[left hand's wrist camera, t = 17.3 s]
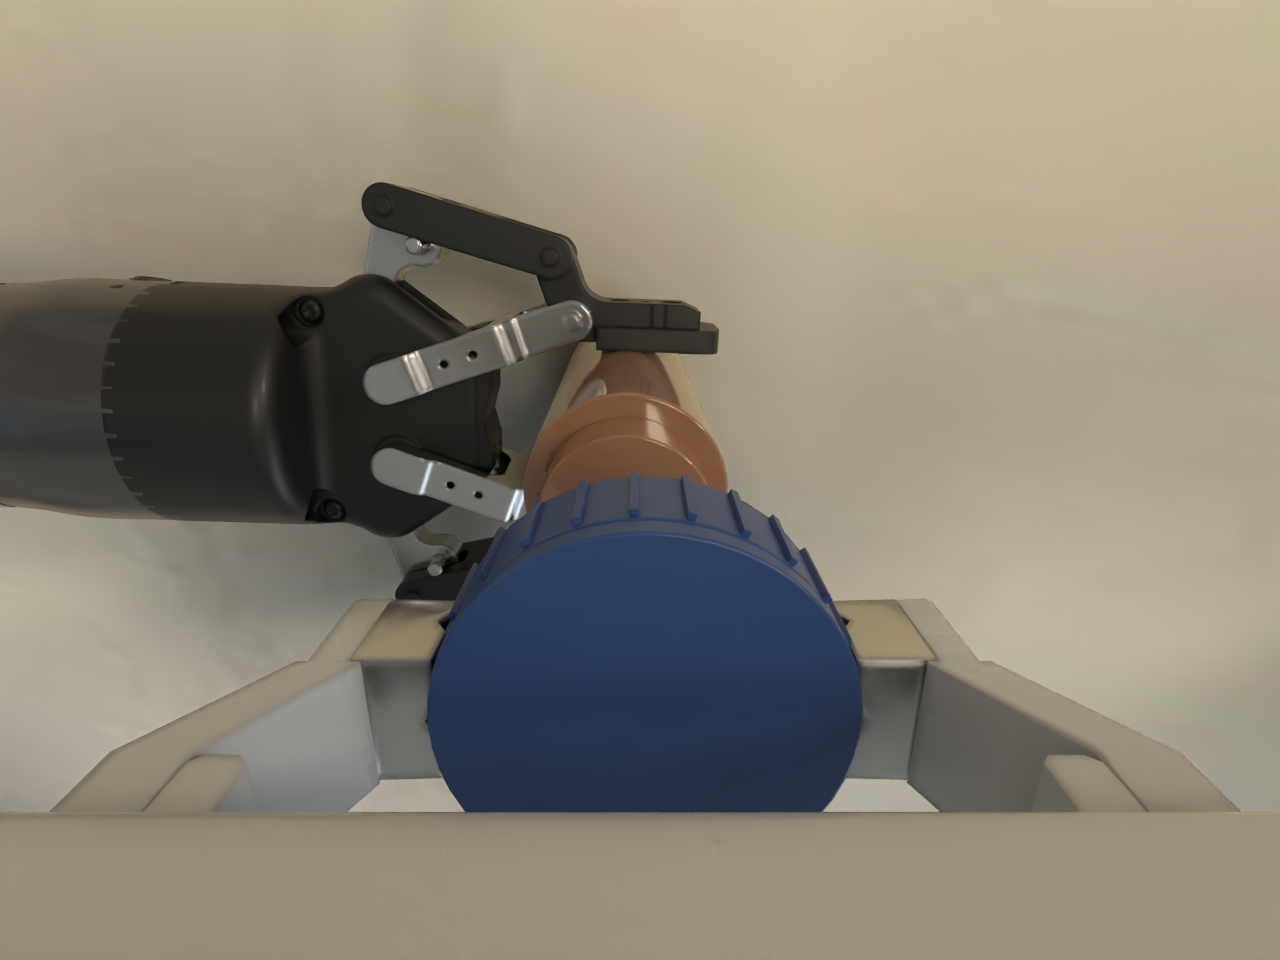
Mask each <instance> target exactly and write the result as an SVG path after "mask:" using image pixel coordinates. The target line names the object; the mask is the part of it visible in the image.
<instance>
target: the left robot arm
mask: <svg viewBox="0 0 1280 960" xmlns="http://www.w3.org/2000/svg"><path fill="white" fill-rule="evenodd" d="M454 602H455V601H449V600H393V599H363V600H357V601H355V602H354V603H353V604H352V605H351V606H350V608H349V609H348V610H347V611H346V613H345V614H344V615H343V617H342V618H341V619H340V621H339V622H338V623H337V624H336V626H335V627H334V628H333V630H332V631H331V632H330V633H329V635H328V636H327V637H326V639H325V640H324V641H323V643H322V644H321V645H320V646H319V648H318V649H317V650H316V652H315V653H314V654H313V655H312V657H311V658H310V659H309V661H296V662H294V663H292V664H290V665H288V666H286V667H284V668H282V669H280V670H278V671H276V672H274V673H272V674H270V675H268V676H265V677H263V678H261V679H259V680H257V681H255V682H253V683H251V684H249V685H247V686H245V687H243V688H241V689H239V690H237V691H235V692H233V693H230V694H228V695H226V696H224V697H222V698H220V699H218V700H216V701H214V702H212V703H210V704H208V705H206V706H204V707H202V708H200V709H198V710H195V711H193V712H191V713H189V714H187V715H185V716H183V717H181V718H179V719H177V720H175V721H173V722H171V723H169V724H167V725H165V726H163V727H160V728H158V729H156V730H154V731H152V732H150V733H148V734H146V735H144V736H142V737H140V738H138V739H136V740H134V741H132V742H130V743H128V744H125V745H123V746H121V747H119V748H117V749H115V750H113V751H111V752H110V753H109V754H108V755H107V756H106V757H105V758H103V759H102V760H101V761H100V762H99V763H98V764H97V765H96V766H95V767H94V768H93V769H92V770H91V771H90V772H89V773H88V774H87V775H86V776H85V777H84V778H83V779H82V780H81V781H80V782H79V783H78V784H77V785H76V786H75V787H74V788H73V789H72V790H71V791H70V792H69V793H68V794H67V795H66V796H65V797H64V798H63V799H62V800H61V801H60V802H59V803H58V804H57V805H56V806H55V807H54V808H53V809H52V810H51V811H50V812H0V960H1280V812H1241V811H1240V810H1239V809H1238V808H1237V807H1236V806H1235V805H1234V804H1233V803H1232V802H1231V801H1230V800H1229V799H1228V798H1227V797H1226V796H1225V795H1224V794H1223V793H1222V792H1220V791H1219V790H1218V789H1217V788H1216V787H1215V786H1214V785H1213V784H1212V783H1211V782H1210V781H1209V780H1208V779H1207V778H1206V777H1205V776H1204V775H1203V774H1202V773H1201V772H1200V771H1199V770H1198V769H1197V768H1196V767H1195V766H1194V765H1193V764H1192V763H1191V762H1190V761H1189V760H1188V759H1187V758H1186V757H1185V756H1184V755H1182V754H1181V753H1180V752H1178V751H1176V750H1174V749H1172V748H1170V747H1167V746H1165V745H1163V744H1161V743H1159V742H1157V741H1155V740H1153V739H1151V738H1149V737H1147V736H1145V735H1143V734H1141V733H1138V732H1136V731H1134V730H1132V729H1130V728H1128V727H1126V726H1124V725H1122V724H1120V723H1118V722H1116V721H1114V720H1112V719H1109V718H1107V717H1105V716H1103V715H1101V714H1099V713H1097V712H1095V711H1093V710H1091V709H1089V708H1087V707H1085V706H1083V705H1080V704H1078V703H1076V702H1074V701H1072V700H1070V699H1068V698H1066V697H1064V696H1062V695H1060V694H1058V693H1056V692H1053V691H1051V690H1049V689H1047V688H1045V687H1043V686H1041V685H1039V684H1037V683H1035V682H1033V681H1031V680H1029V679H1027V678H1024V677H1022V676H1020V675H1018V674H1016V673H1014V672H1012V671H1010V670H1008V669H1006V668H1004V667H1002V666H1000V665H998V664H995V663H993V662H991V661H979V660H978V659H977V657H976V656H975V655H974V654H973V652H972V651H971V650H970V649H969V647H968V646H967V645H966V644H965V642H964V641H963V640H962V639H961V637H960V636H959V635H958V633H957V632H956V631H955V630H954V628H953V627H952V626H951V625H950V623H949V622H948V621H947V620H946V618H945V617H944V616H943V615H942V613H941V612H940V611H939V610H938V608H937V607H936V606H935V605H934V603H933V602H932V601H930V600H927V599H905V600H854V601H833V603H834V605H835V607H836V609H837V611H838V613H839V615H840V616H841V618H842V620H843V622H844V624H845V626H846V628H847V630H848V632H849V634H850V636H851V639H852V642H853V643H852V644H850V645H849V647H850V650H851V652H852V655H853V657H854V660H855V662H856V666H857V670H858V674H859V679H860V683H861V689H862V704H863V714H862V725H861V734H860V738H859V742H858V746H857V750H856V754H855V758H854V760H853V762H852V765H851V767H850V769H849V772H848V774H847V777H846V778H861V779H898V780H908V781H907V783H908V784H909V785H911V786H912V787H913V788H914V789H915V790H916V791H917V792H918V793H920V794H921V795H922V796H923V797H924V798H925V799H926V800H928V801H929V802H930V803H931V804H932V805H933V806H934V807H936V808H937V809H938V810H939V811H940V812H348V811H349V810H350V809H351V808H352V807H353V806H354V805H356V804H357V803H358V802H359V801H360V800H361V799H362V798H363V797H365V796H366V795H367V794H368V793H369V792H370V791H371V790H372V789H374V788H375V787H376V786H377V785H378V784H379V783H380V782H379V780H389V779H424V778H443V776H442V774H441V772H440V770H439V767H438V764H437V761H436V758H435V756H434V753H433V750H432V746H431V740H430V735H429V729H428V722H427V698H428V691H429V684H430V677H431V674H432V671H433V667H434V664H435V661H436V658H437V657H436V655H437V653H438V651H439V649H440V647H441V645H442V643H443V641H444V638H445V630H446V627H447V625H448V623H449V621H450V618H448V614H449V612H450V610H451V608H452V606H453V604H454Z"/></svg>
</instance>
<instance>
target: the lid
mask: <svg viewBox="0 0 1280 960" xmlns="http://www.w3.org/2000/svg"><path fill="white" fill-rule="evenodd" d="M448 618H450V621H449V623H448V625H447V627H446V630H445V638H444V641H443V643H442V645H441V647H440V649H439V651H438V653H437V655H436V657H437V658H436V661H435V664H434V667H433V671H432V674H431V677H430V684H429V691H428V698H427V722H428V729H429V735H430V740H431V746H432V750H433V753H434V756H435V758H436V761H437V764H438V767H439V770H440V772H441V774H442V776H443V778H444V780H445V782H446V784H447V786H448V787H449V789H450V791H451V792H452V794H453V795H454V797H455V798H456V800H457V801H458V802H459V804H460V805H461V807H462V808H463V809H464V810H465V812H823V811H824V810H825V808H826V807H827V806H828V805H829V804H830V802H831V801H832V800H833V799H834V797H835V795H836V794H837V792H838V790H839V789H840V787H841V785H842V784H843V782H844V780H845V779H846V777H847V774H848V772H849V769H850V767H851V765H852V762H853V760H854V758H855V754H856V750H857V746H858V742H859V738H860V734H861V725H862V714H863V704H862V689H861V683H860V679H859V674H858V670H857V666H856V662H855V660H854V657H853V655H852V652H851V650H850V647H849V645H850V644H852V643H853V642H852V639H851V636H850V634H849V632H848V630H847V628H846V626H845V624H844V622H843V620H842V618H841V616H840V615H839V613H838V611H837V609H836V607H835V605H834V603H833V601H832V598H831V596H830V594H829V592H828V590H827V588H826V586H825V584H824V582H823V580H822V578H821V576H820V574H819V572H818V570H817V569H816V567H815V565H814V563H813V561H812V559H811V557H810V555H809V553H808V551H807V550H806V549H805V548H803V549H802V550H799V549H798V548H797V547H796V545H795V544H794V543H793V542H792V541H791V539H790V538H789V537H788V536H787V535H786V533H785V532H784V530H783V528H782V526H781V524H780V522H779V520H778V518H777V517H775V516H774V515H772V516H771V517H770V518H768V517H767V516H765V515H764V514H762V513H761V512H759V511H758V510H756V509H755V508H754V507H752V506H751V505H749V504H748V503H746V502H744V501H742V500H740V497H739V494H738V492H736V491H734V490H732V489H731V490H730V492H729V493H726V492H723V491H720V490H717V489H714V488H712V487H709V486H706V485H703V484H699V483H695V482H691V480H690V476H687V475H682V476H681V479H676V478H665V477H653V476H642V477H639V475H638V471H635V472H630V477H622V478H615V479H609V480H603V481H597V482H594V483H590V484H589V483H588V480H587V479H585V480H582V481H579V485H578V487H577V488H573V489H571V490H569V491H566V492H564V493H562V494H559V495H557V496H555V497H552V498H550V499H549V500H547V501H545V502H544V503H543V501H542V500H541V499H540V498H539V499H538V500H536V501H534V503H533V506H532V508H531V510H530V511H529V512H527V513H526V514H525V515H524V516H522V517H521V518H520V519H519V520H517V521H516V522H515V523H514V524H512V525H511V526H510V527H509V528H508V529H507V530H505V529H504V528H503V527H501V528H500V529H499V530H498V531H497V533H496V535H495V537H494V539H493V541H492V544H491V546H490V548H489V550H488V552H487V554H486V556H485V557H484V558H483V560H482V561H481V563H480V565H478V564H476V563H473V565H472V567H471V569H470V571H469V573H468V575H467V577H466V579H465V581H464V583H463V585H462V587H461V590H460V592H459V594H458V596H457V598H456V600H455V602H454V604H453V606H452V608H451V610H450V612H449V614H448Z"/></svg>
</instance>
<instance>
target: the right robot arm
mask: <svg viewBox="0 0 1280 960" xmlns="http://www.w3.org/2000/svg"><path fill="white" fill-rule="evenodd" d="M362 209H363V212H364V214H365V216H366V218H367V219H368V220H369V222H370V223H372V226H371V233H370V239H369V245H368V252H367V258H366V264H365V271H364V274H362V275H358V276H355V277H353V278H351V279H349V280H347V281H346V282H344V283H342V284H340V285H338V286H335V287H301V286H276V285H251V284H227V283H203V282H177V281H175V282H173V281H171V280H167V279H162V278H156V277H144V276H137V277H134V278H129V279H97V278H78V279H65V280H55V281H47V282H37V283H10V284H6V283H0V507H21V508H34V509H42V510H49V511H54V512H60V513H66V514H72V515H79V516H86V517H97V518H119V519H155V520H182V521H221V522H252V523H283V524H321V523H334V522H344V523H349V524H353V525H356V526H359V527H361V528H364V529H366V530H368V531H370V532H371V533H373V534H375V535H378V536H381V537H387V538H389V541H390V544H391V546H392V549H393V552H394V555H395V557H396V560H397V563H398V566H399V568H400V571H401V574H402V577H403V580H402V582H401V584H400V585H399V587H398V588H397V590H396V593H395V598H396V600H449V601H455V600H456V598H457V596H458V594H459V592H460V590H461V587H462V585H463V583H464V581H465V579H466V577H467V575H468V573H469V571H470V569H471V567H472V565H473V563H476V564H478V565H480V563H481V561H482V560H483V558H484V557H485V556H486V554H487V552H488V550H489V548H490V546H491V544H492V541H493V539H494V537H492V538H487V539H482V540H477V541H472V542H467V543H461V541H460V540H459V539H458V538H457V537H456V536H455V535H450V534H436V533H432V532H430V531H429V530H427V529H426V528H425V527H424V526H423V524H425V523H426V522H428V521H429V520H431V519H432V518H434V517H435V516H437V515H438V514H440V513H442V512H443V511H445V510H446V509H448V508H449V507H451V506H452V505H455V506H458V507H461V508H463V509H466V510H469V511H472V512H475V513H478V514H480V515H483V516H486V517H489V518H492V519H495V520H498V521H502V522H510V521H517V520H519V519H520V518H521V517H522V516H524V515H525V514H526V508H525V504H524V495H523V483H524V474H525V469H526V464H527V461H528V459H529V456H528V455H525V454H523V453H520V452H518V451H515V450H512V449H509V448H507V447H504V446H502V428H501V425H500V422H499V418H498V415H497V412H496V408H495V403H496V399H497V395H498V391H499V387H500V368H503V367H506V366H509V365H512V364H514V363H517V362H519V361H521V360H523V359H525V358H528V357H530V356H533V355H537V354H540V353H543V352H546V351H549V350H552V349H555V348H559V347H562V346H565V345H568V344H571V343H574V342H596V350H598V351H634V352H653V353H680V354H716V353H717V349H718V336H719V329H718V328H717V327H716V326H715V325H714V324H710V323H702V322H700V315H701V312H700V311H699V310H698V309H697V308H696V307H694V306H692V305H689V304H687V303H685V302H683V301H677V300H649V299H626V298H606V297H601V296H599V295H597V294H595V293H594V292H593V291H591V290H590V288H589V287H588V286H587V284H586V282H585V279H584V276H583V274H582V271H581V268H580V265H579V262H578V259H577V249H576V246H575V244H574V243H573V241H572V240H571V239H570V238H568V237H567V236H564V235H561V234H558V233H555V232H552V231H549V230H545V229H542V228H539V227H536V226H532V225H529V224H526V223H523V222H520V221H516V220H513V219H510V218H507V217H503V216H500V215H497V214H494V213H491V212H487V211H484V210H481V209H478V208H474V207H471V206H468V205H465V204H462V203H458V202H455V201H452V200H449V199H445V198H442V197H439V196H436V195H433V194H429V193H426V192H423V191H420V190H416V189H413V188H409V187H404V186H399V185H394V184H388V183H382V182H379V183H375V184H372V185H370V186H369V187H368V188H367V189H366V190H365V192H364V194H363V197H362ZM449 249H451V250H454V251H458V252H461V253H464V254H468V255H471V256H474V257H477V258H481V259H484V260H487V261H491V262H494V263H497V264H501V265H504V266H507V267H511V268H514V269H517V270H520V271H524V272H527V273H530V274H534V275H536V276H537V279H538V281H539V284H540V287H541V290H542V293H543V295H544V298H545V301H546V303H543V304H540V305H537V306H534V307H530V308H527V309H524V310H520V311H516V312H512V313H509V314H506V315H503V316H500V317H497V318H494V319H491V320H488V321H485V322H481V323H478V324H475V325H472V326H469V327H466V326H465V325H464V324H462V323H461V322H460V321H458V320H457V319H456V318H454V317H453V316H452V315H450V314H449V313H448V312H446V311H445V310H444V309H442V308H441V307H440V306H438V305H437V304H436V303H434V302H433V301H432V300H430V299H429V298H428V297H426V296H425V295H424V294H422V293H421V292H419V291H418V290H417V289H415V288H414V287H413V286H411V285H410V284H409V283H407V282H406V281H405V280H404V277H405V274H406V272H407V271H408V270H409V269H410V268H411V267H413V266H430V265H435V264H438V263H440V262H442V261H443V260H444V259H445V257H446V256H447V253H448V250H449ZM496 462H497V463H498V464H496ZM478 491H479V492H478ZM480 492H481V493H480Z"/></svg>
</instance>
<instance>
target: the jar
mask: <svg viewBox="0 0 1280 960" xmlns="http://www.w3.org/2000/svg"><path fill="white" fill-rule="evenodd" d="M635 471H638V475H639V477H642V476H653V477H665V478H676V479H681V476H682V475H687V476H690V480H691V482H695V483H699V484H703V485H706V486H709V487H712V488H714V489H717V490H720V491H723V492H726V493H728V481H727V473H726V469H725V465H724V461H723V458H722V456H721V453H720V451H719V448H718V446H717V444H716V441H715V439H714V436H713V434H712V432H711V429H710V427H709V424H708V422H707V420H706V417H705V415H704V413H703V410H702V408H701V405H700V403H699V401H698V398H697V396H696V394H695V391H694V389H693V386H692V384H691V382H690V379H689V377H688V374H687V372H686V370H685V367H684V365H683V363H682V360H681V358H680V355H679V353H653V352H634V351H598V350H596V342H580V343H579V344H578V346H577V347H576V349H575V351H574V353H573V355H572V357H571V360H570V362H569V364H568V367H567V369H566V371H565V374H564V376H563V378H562V381H561V383H560V385H559V388H558V390H557V392H556V395H555V397H554V399H553V402H552V404H551V406H550V409H549V411H548V413H547V416H546V418H545V420H544V423H543V425H542V427H541V430H540V432H539V434H538V437H537V439H536V441H535V444H534V446H533V448H532V451H531V453H530V456H529V459H528V461H527V464H526V469H525V474H524V483H523V495H524V504H525V508H526V513H527V512H529V511H530V510H531V508H532V506H533V503H534V501H536V500H538V499H539V498H540V499H541V500H542V501H543V503H544V502H545V501H547V500H549V499H550V498H552V497H555V496H557V495H559V494H562V493H564V492H566V491H569V490H571V489H573V488H577V487H578V485H579V481H582V480H585V479H587V480H588V483H589V484H590V483H594V482H597V481H603V480H609V479H615V478H622V477H630V472H635Z"/></svg>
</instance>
